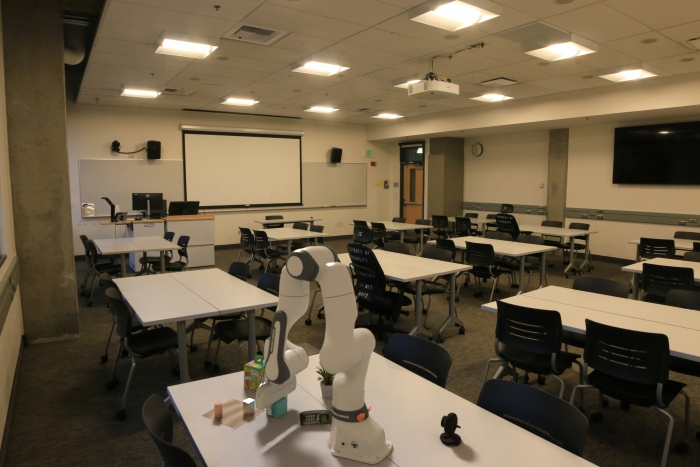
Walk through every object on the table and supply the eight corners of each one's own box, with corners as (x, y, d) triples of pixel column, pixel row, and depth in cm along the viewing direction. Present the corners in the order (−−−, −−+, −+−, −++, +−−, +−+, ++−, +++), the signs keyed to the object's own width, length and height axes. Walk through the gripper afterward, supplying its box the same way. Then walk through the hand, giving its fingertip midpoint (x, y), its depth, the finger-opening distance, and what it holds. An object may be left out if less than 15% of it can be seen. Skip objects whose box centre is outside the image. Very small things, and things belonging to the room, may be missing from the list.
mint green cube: (287, 414, 175) (287, 397, 174) (277, 421, 170) (277, 404, 169) (276, 411, 178) (275, 394, 177) (266, 417, 173) (265, 400, 173)
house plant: (329, 409, 180) (329, 370, 178) (303, 399, 188) (303, 361, 186) (350, 396, 191) (350, 359, 189) (325, 387, 199) (325, 351, 197)
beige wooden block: (254, 412, 174) (254, 400, 174) (248, 415, 172) (248, 403, 171) (248, 410, 176) (248, 398, 175) (243, 413, 173) (243, 401, 173)
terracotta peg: (224, 415, 172) (224, 403, 171) (218, 419, 169) (217, 406, 169) (219, 413, 173) (218, 401, 173) (212, 416, 171) (212, 404, 170)
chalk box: (243, 390, 196) (242, 357, 195) (257, 382, 204) (256, 350, 203) (260, 394, 192) (259, 361, 190) (273, 386, 200) (272, 354, 198)
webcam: (445, 432, 163) (446, 405, 162) (465, 439, 159) (465, 412, 157) (435, 441, 157) (436, 414, 156) (455, 449, 153) (455, 421, 151)
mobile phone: (299, 414, 167) (339, 411, 168) (299, 410, 170) (338, 407, 171) (300, 427, 167) (339, 423, 169) (299, 422, 170) (339, 419, 172)
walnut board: (265, 413, 176) (265, 410, 176) (235, 432, 163) (235, 428, 162) (233, 402, 185) (233, 398, 185) (201, 419, 172) (201, 415, 172)
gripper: (263, 388, 162) (264, 424, 164) (298, 368, 179) (299, 401, 181) (250, 384, 165) (251, 419, 167) (286, 365, 183) (287, 397, 184)
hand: (276, 410), depth 174 cm, fingers closed on mint green cube, 6 cm apart
